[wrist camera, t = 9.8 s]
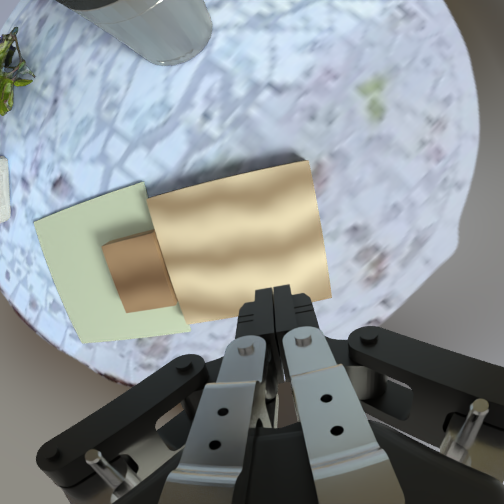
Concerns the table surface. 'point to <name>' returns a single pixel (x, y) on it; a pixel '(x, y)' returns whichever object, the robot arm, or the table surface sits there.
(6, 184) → the photo printer
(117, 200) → the sage mat
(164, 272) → the walnut slab
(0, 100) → the passion flower
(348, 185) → the table surface
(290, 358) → the robot arm
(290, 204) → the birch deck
